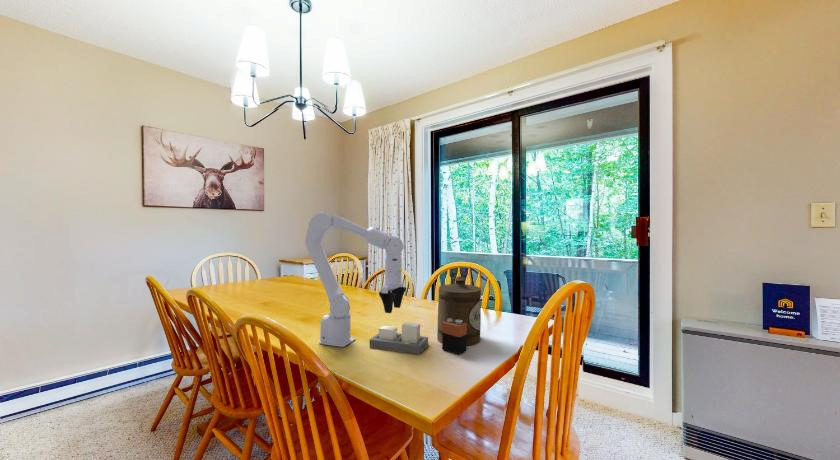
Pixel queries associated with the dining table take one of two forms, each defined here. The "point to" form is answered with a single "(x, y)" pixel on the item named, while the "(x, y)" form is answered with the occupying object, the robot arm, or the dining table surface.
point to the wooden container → (460, 308)
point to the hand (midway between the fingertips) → (392, 310)
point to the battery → (454, 336)
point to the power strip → (396, 341)
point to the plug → (411, 332)
